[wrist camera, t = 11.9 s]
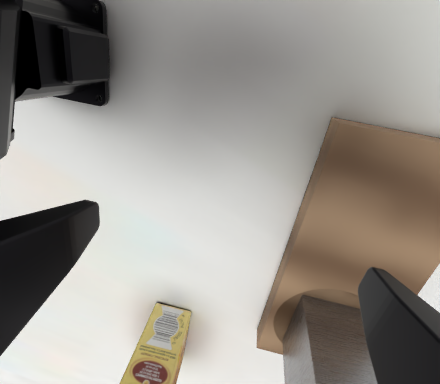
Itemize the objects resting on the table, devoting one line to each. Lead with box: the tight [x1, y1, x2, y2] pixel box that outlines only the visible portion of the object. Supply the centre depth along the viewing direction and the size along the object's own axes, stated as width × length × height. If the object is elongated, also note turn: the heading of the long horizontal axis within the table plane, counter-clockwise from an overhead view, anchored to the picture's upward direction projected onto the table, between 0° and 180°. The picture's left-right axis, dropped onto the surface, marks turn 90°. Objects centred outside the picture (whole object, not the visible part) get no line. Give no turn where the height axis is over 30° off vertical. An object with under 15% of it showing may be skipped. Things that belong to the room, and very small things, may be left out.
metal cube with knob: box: [282, 295, 377, 384], centre depth 19 cm, size 6×6×8 cm
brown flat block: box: [257, 117, 440, 355], centre depth 20 cm, size 22×10×5 cm, turn 171°
